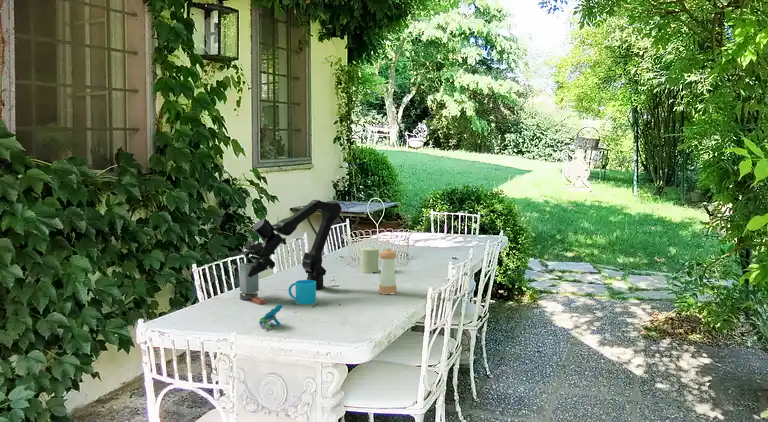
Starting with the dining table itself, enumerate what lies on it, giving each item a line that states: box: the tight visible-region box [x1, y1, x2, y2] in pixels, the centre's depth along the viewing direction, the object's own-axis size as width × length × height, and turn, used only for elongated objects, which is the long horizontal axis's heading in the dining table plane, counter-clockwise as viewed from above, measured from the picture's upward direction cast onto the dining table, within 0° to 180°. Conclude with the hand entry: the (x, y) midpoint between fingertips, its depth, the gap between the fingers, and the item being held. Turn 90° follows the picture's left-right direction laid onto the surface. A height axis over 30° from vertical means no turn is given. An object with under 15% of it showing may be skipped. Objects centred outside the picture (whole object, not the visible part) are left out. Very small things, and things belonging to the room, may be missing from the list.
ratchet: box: [239, 291, 266, 305], centre depth 260 cm, size 7×15×5 cm, turn 38°
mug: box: [288, 279, 317, 305], centre depth 259 cm, size 12×8×8 cm
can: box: [359, 246, 379, 274], centre depth 321 cm, size 9×9×12 cm
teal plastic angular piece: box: [258, 303, 283, 329], centre depth 224 cm, size 11×6×10 cm
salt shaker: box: [378, 248, 397, 295], centre depth 274 cm, size 7×7×19 cm
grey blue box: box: [238, 262, 260, 293], centre depth 262 cm, size 6×6×11 cm
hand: (245, 275), depth 261 cm, fingers closed on grey blue box, 5 cm apart
